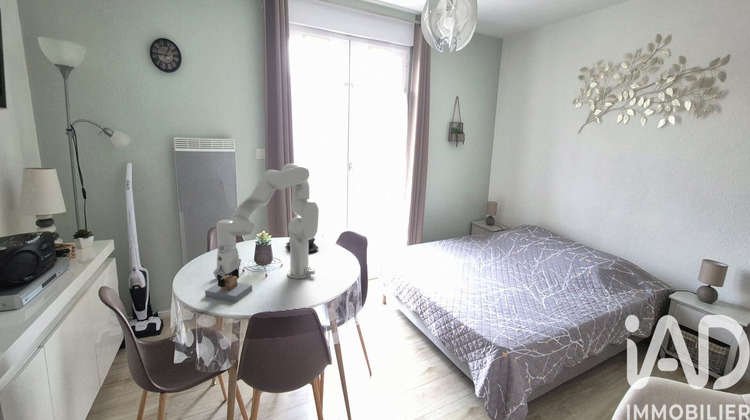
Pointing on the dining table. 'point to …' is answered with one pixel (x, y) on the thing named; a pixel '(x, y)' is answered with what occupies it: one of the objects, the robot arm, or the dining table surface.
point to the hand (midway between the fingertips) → (228, 282)
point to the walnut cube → (230, 282)
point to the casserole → (310, 242)
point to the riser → (229, 292)
